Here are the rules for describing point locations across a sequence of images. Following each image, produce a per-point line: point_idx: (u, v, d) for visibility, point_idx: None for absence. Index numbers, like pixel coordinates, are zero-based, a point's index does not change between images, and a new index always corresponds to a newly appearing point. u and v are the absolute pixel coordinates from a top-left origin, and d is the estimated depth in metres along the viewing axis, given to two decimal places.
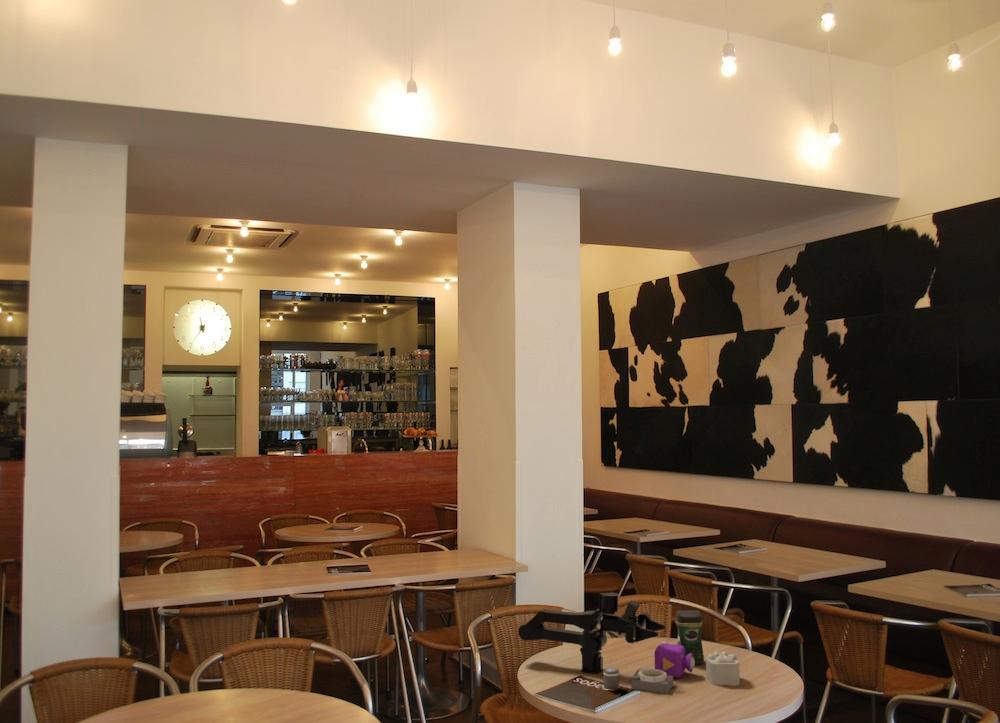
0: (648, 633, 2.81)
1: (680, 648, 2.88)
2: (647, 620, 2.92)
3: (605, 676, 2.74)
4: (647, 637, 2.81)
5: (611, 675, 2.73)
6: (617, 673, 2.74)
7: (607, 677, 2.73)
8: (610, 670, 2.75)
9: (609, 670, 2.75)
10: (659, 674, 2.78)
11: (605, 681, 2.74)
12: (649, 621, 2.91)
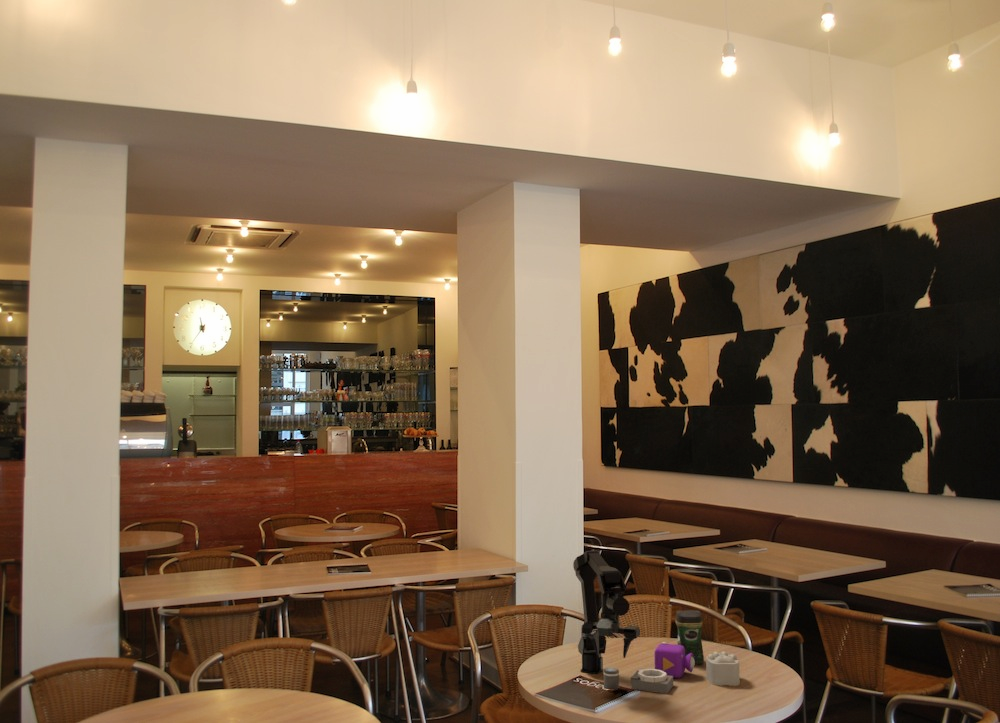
0: None
1: (680, 648, 2.88)
2: None
3: (605, 676, 2.74)
4: None
5: (611, 675, 2.73)
6: (617, 673, 2.74)
7: (607, 677, 2.73)
8: (610, 670, 2.75)
9: (609, 670, 2.75)
10: (659, 674, 2.78)
11: (605, 681, 2.74)
12: None
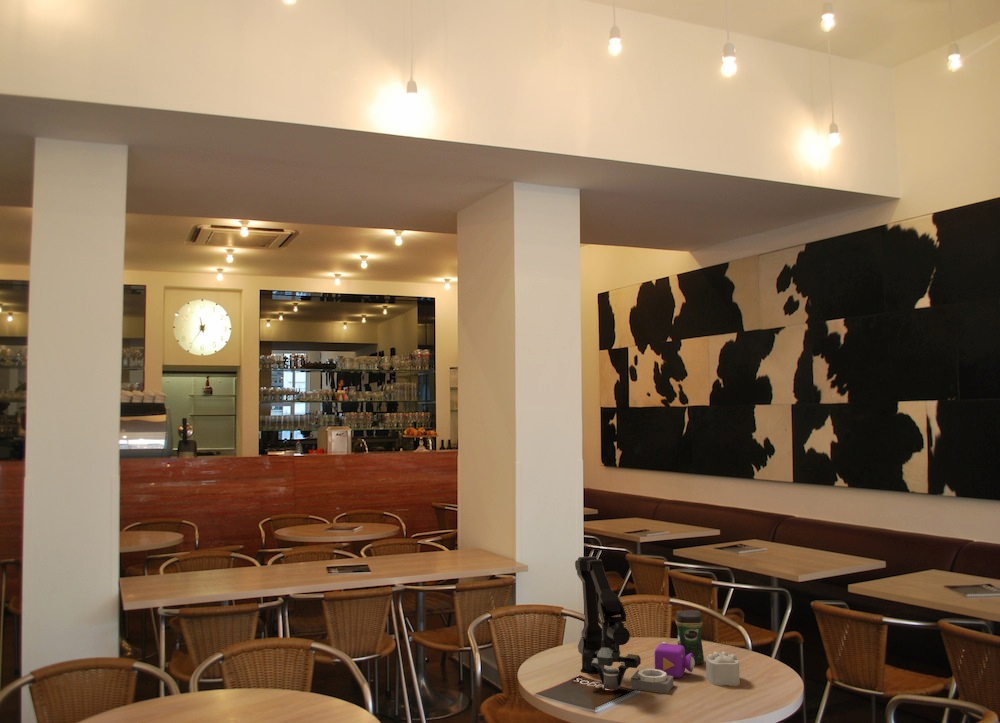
0: None
1: (680, 648, 2.88)
2: None
3: (605, 676, 2.74)
4: None
5: (611, 675, 2.73)
6: (617, 673, 2.74)
7: (607, 677, 2.73)
8: (610, 670, 2.75)
9: (609, 670, 2.75)
10: (659, 674, 2.78)
11: (605, 681, 2.74)
12: None
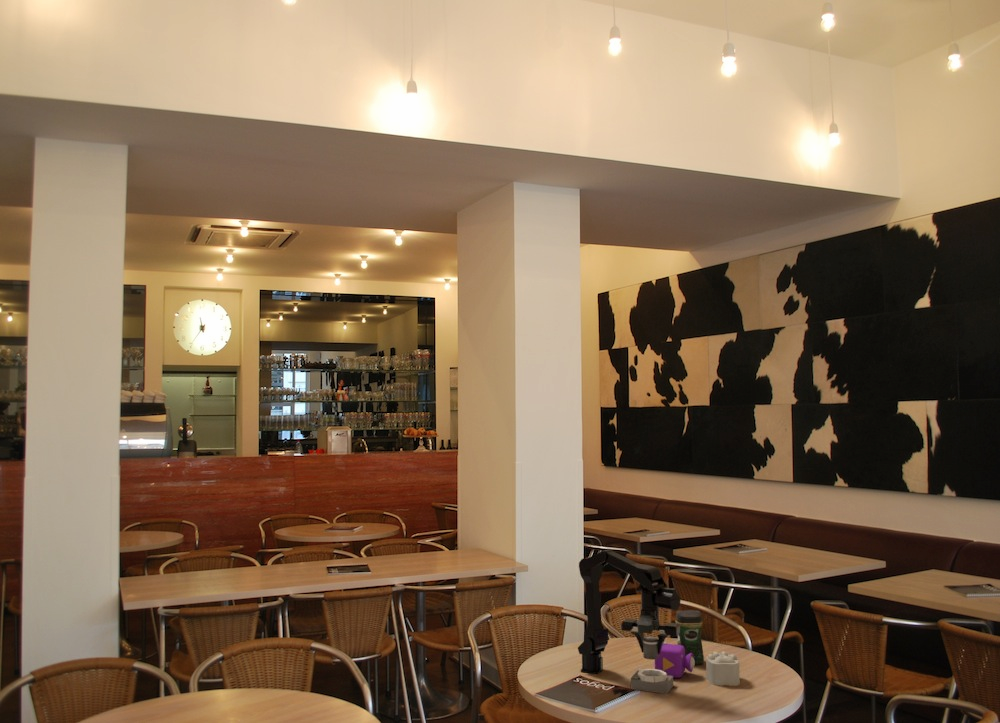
0: None
1: (680, 648, 2.88)
2: None
3: (645, 644, 2.76)
4: None
5: (651, 643, 2.74)
6: (657, 641, 2.75)
7: (647, 645, 2.75)
8: (650, 638, 2.76)
9: (649, 638, 2.76)
10: (659, 674, 2.78)
11: (645, 649, 2.76)
12: None
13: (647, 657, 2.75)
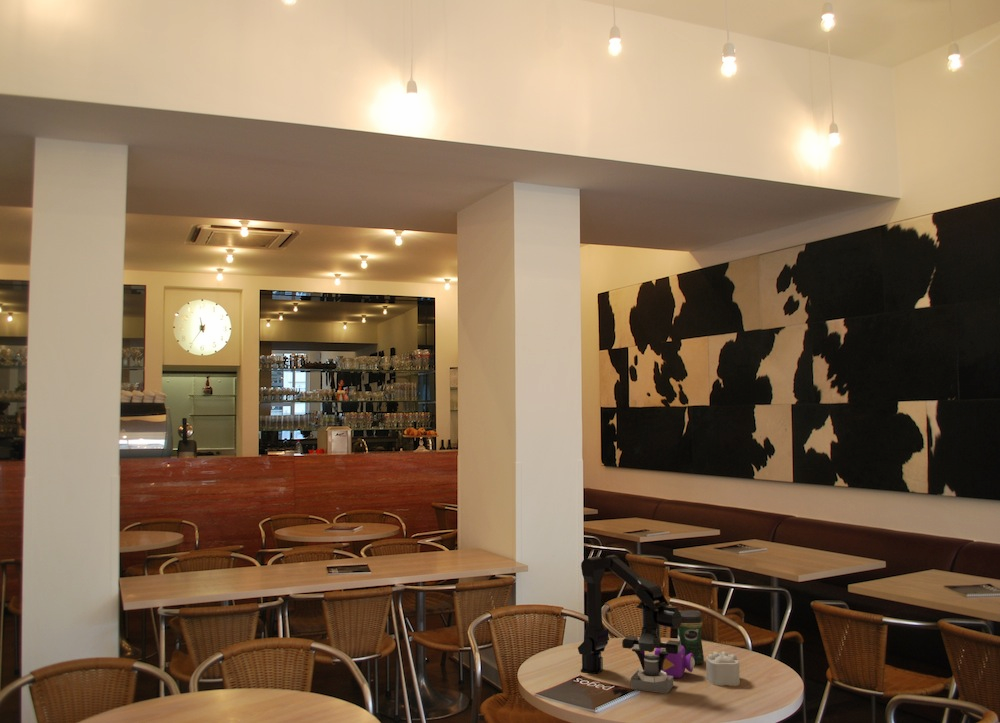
0: None
1: None
2: None
3: (646, 662, 2.75)
4: None
5: (652, 661, 2.74)
6: (658, 659, 2.75)
7: (648, 663, 2.75)
8: (651, 656, 2.76)
9: (650, 656, 2.76)
10: (659, 674, 2.78)
11: (646, 667, 2.75)
12: (659, 655, 2.75)
13: (648, 675, 2.75)
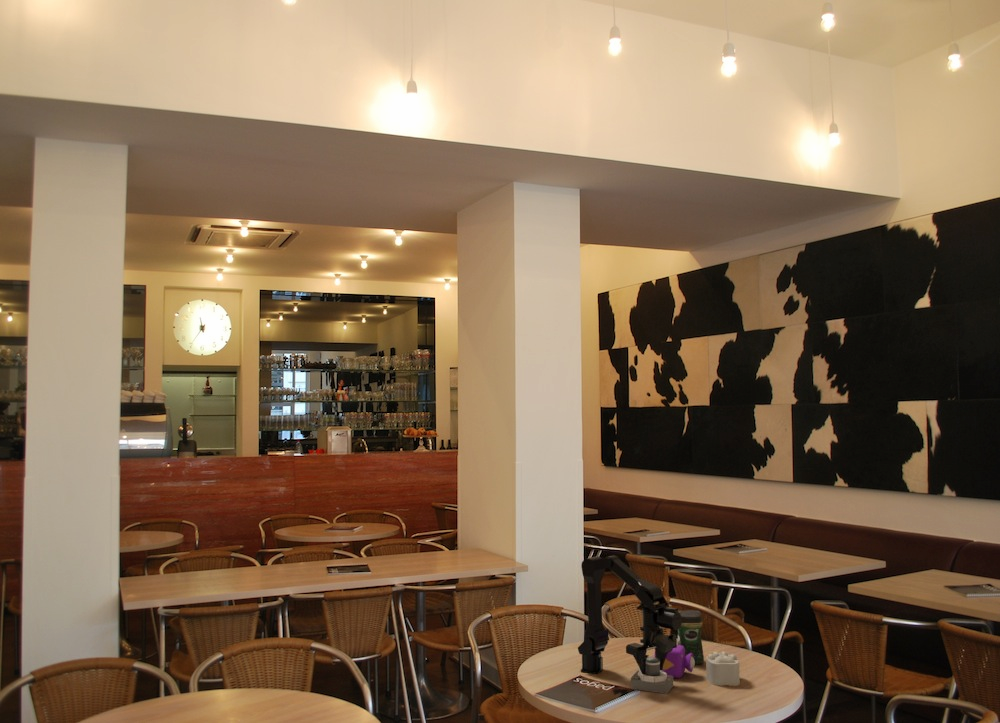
0: (641, 665, 2.74)
1: (680, 648, 2.88)
2: None
3: (653, 666, 2.74)
4: (638, 664, 2.75)
5: (659, 662, 2.75)
6: None
7: (656, 666, 2.74)
8: (653, 659, 2.76)
9: (652, 659, 2.76)
10: None
11: (653, 671, 2.74)
12: (663, 653, 2.78)
13: None
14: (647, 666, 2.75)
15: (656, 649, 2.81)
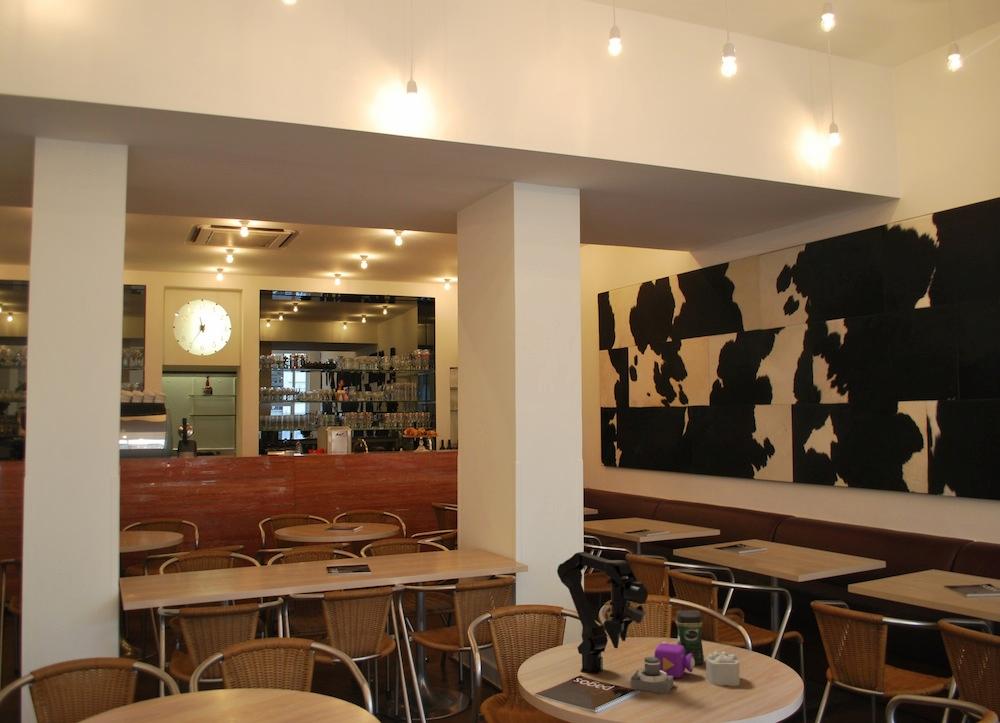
0: (615, 640, 2.80)
1: (680, 648, 2.88)
2: (627, 622, 2.89)
3: (653, 666, 2.74)
4: (611, 638, 2.80)
5: (659, 663, 2.75)
6: None
7: (656, 666, 2.74)
8: (653, 659, 2.76)
9: (652, 659, 2.76)
10: None
11: (653, 671, 2.74)
12: (626, 624, 2.89)
13: None
14: (647, 666, 2.75)
15: None
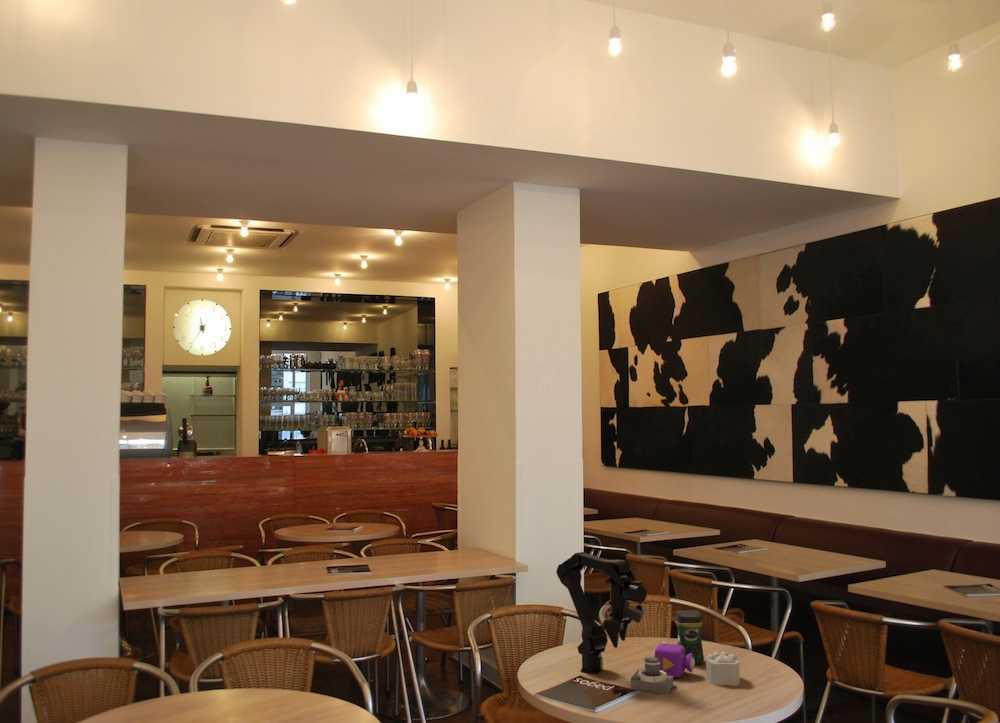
0: (614, 639, 2.80)
1: (680, 648, 2.88)
2: (627, 622, 2.89)
3: (653, 666, 2.74)
4: (610, 638, 2.80)
5: (659, 663, 2.75)
6: None
7: (656, 666, 2.74)
8: (653, 659, 2.76)
9: (653, 659, 2.76)
10: None
11: (653, 671, 2.74)
12: (626, 624, 2.89)
13: None
14: (647, 666, 2.75)
15: None
